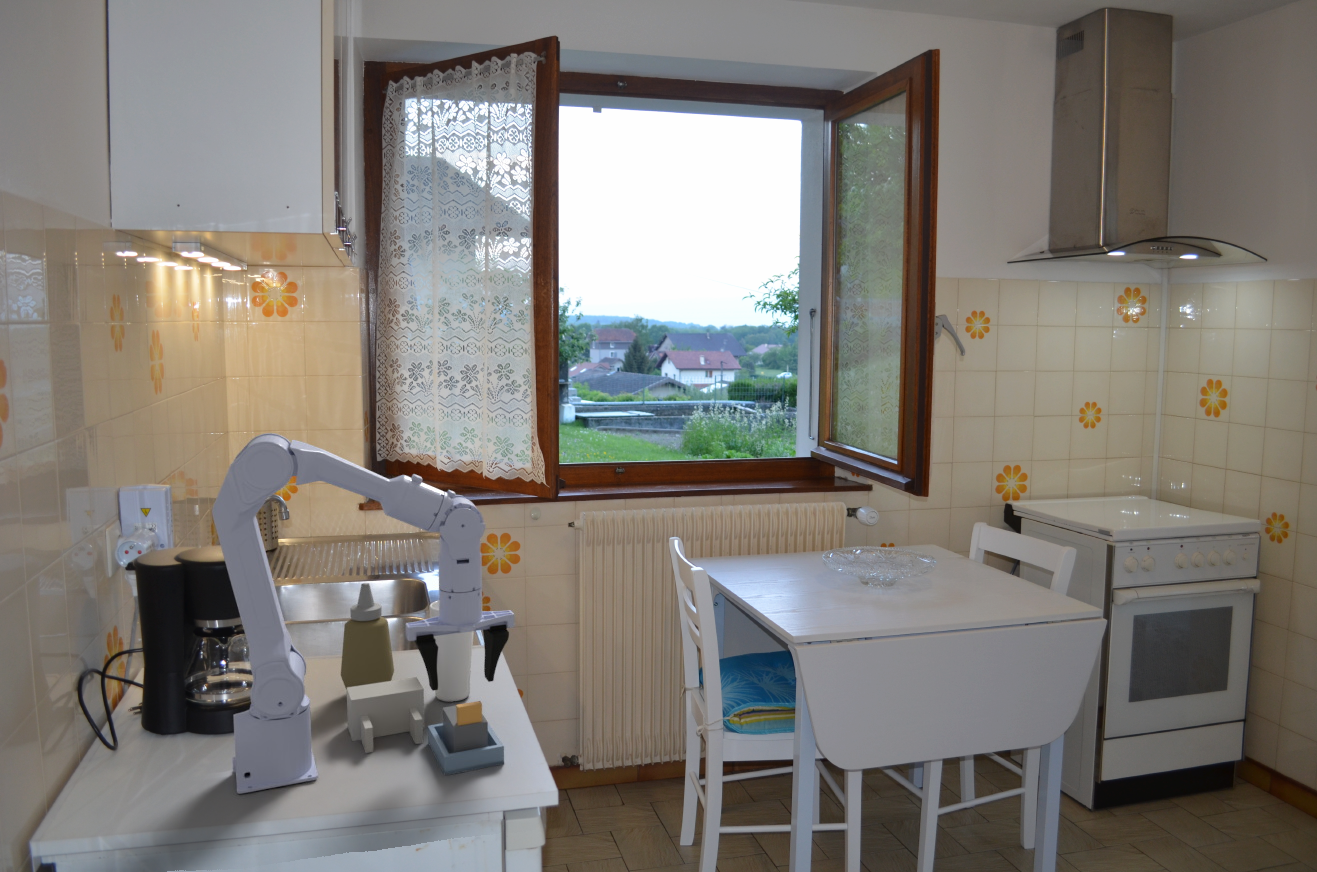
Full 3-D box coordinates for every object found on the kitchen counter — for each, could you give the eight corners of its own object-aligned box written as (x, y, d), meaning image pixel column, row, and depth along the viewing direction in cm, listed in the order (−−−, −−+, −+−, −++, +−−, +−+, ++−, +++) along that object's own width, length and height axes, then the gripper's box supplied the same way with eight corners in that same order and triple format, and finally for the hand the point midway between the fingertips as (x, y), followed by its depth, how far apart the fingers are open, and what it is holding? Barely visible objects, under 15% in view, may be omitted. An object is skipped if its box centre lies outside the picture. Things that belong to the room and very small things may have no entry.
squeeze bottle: (365, 709, 141) (362, 594, 139) (330, 697, 145) (326, 585, 143) (405, 691, 148) (403, 582, 146) (370, 681, 152) (368, 574, 150)
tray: (445, 775, 121) (444, 757, 121) (428, 742, 130) (427, 725, 130) (504, 763, 124) (503, 745, 124) (483, 732, 134) (483, 716, 133)
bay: (357, 754, 127) (355, 712, 126) (347, 727, 135) (346, 687, 134) (430, 741, 131) (430, 700, 130) (417, 715, 139) (416, 676, 139)
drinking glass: (464, 706, 143) (463, 612, 141) (423, 702, 144) (421, 608, 142) (481, 690, 149) (480, 599, 147) (441, 686, 151) (440, 596, 149)
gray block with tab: (443, 741, 130) (442, 690, 129) (475, 736, 131) (474, 685, 131) (454, 763, 123) (453, 709, 122) (487, 757, 125) (487, 703, 124)
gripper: (411, 601, 119) (413, 702, 121) (520, 588, 126) (521, 685, 127) (401, 586, 126) (403, 683, 127) (506, 575, 132) (506, 667, 133)
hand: (461, 683), depth 128 cm, fingers open, 7 cm apart
